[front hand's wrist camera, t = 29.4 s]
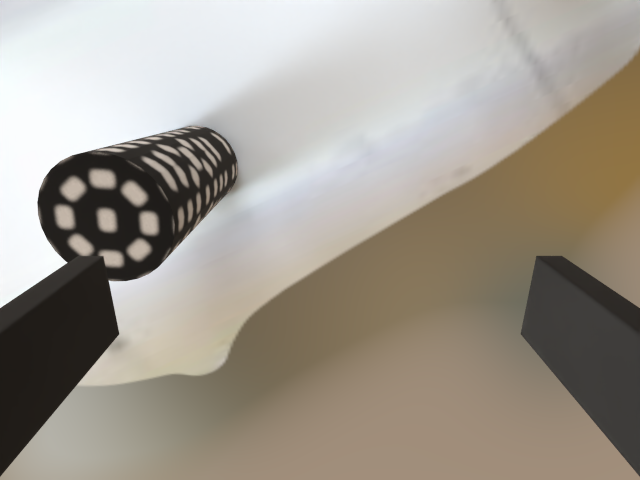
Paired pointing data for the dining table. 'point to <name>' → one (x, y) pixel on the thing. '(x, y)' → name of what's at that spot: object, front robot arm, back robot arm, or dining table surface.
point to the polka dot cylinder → (135, 198)
